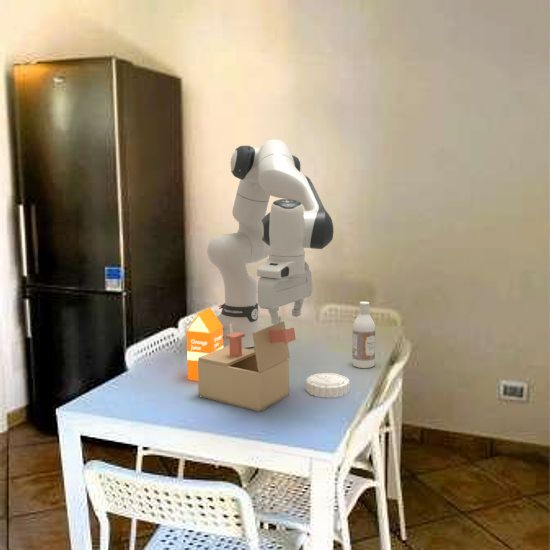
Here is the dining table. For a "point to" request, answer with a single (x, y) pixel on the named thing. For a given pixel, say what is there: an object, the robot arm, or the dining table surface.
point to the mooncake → (327, 385)
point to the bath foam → (363, 339)
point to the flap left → (229, 352)
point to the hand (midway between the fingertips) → (286, 319)
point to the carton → (244, 383)
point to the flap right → (272, 345)
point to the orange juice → (202, 339)
